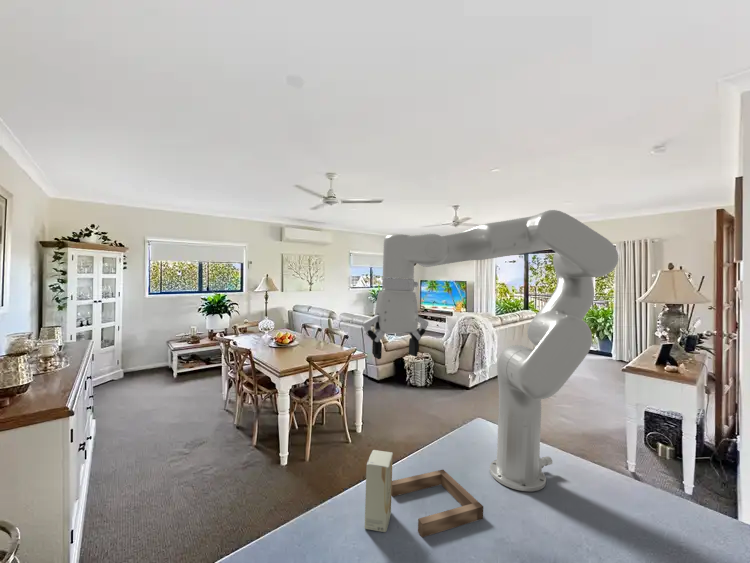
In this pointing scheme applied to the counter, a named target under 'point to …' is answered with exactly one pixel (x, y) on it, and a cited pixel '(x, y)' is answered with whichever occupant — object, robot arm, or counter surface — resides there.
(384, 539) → the counter surface
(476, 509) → the open wooden u frame
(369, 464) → the skincare box
